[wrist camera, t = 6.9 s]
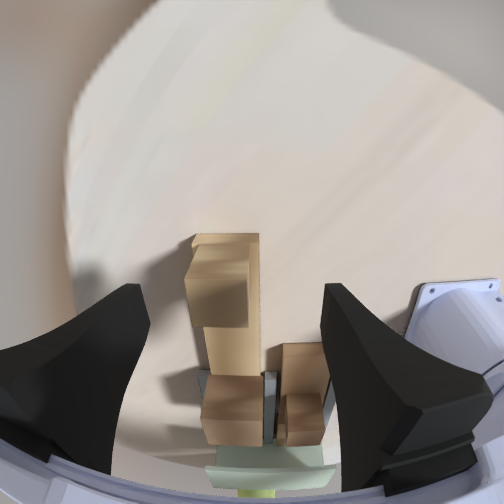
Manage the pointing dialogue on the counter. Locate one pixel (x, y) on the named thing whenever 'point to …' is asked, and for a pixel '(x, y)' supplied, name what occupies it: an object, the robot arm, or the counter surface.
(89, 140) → the counter surface
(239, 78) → the counter surface
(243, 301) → the tan stepped wooden piece
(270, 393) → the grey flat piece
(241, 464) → the shelter
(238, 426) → the cube
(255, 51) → the counter surface
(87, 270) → the counter surface
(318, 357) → the block brown
